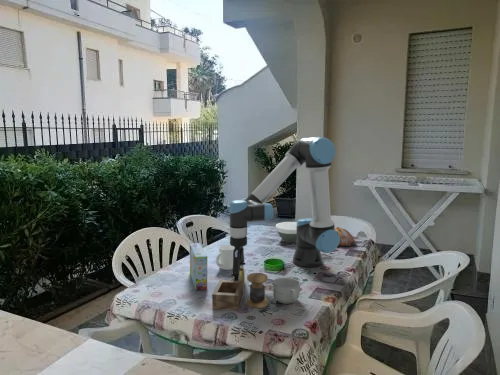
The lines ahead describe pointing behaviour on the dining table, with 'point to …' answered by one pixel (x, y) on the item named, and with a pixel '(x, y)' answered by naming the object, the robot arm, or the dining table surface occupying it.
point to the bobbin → (257, 291)
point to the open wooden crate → (228, 295)
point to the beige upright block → (242, 275)
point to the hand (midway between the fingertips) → (238, 284)
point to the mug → (225, 257)
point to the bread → (345, 237)
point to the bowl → (287, 231)
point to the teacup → (286, 290)
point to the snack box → (198, 266)
